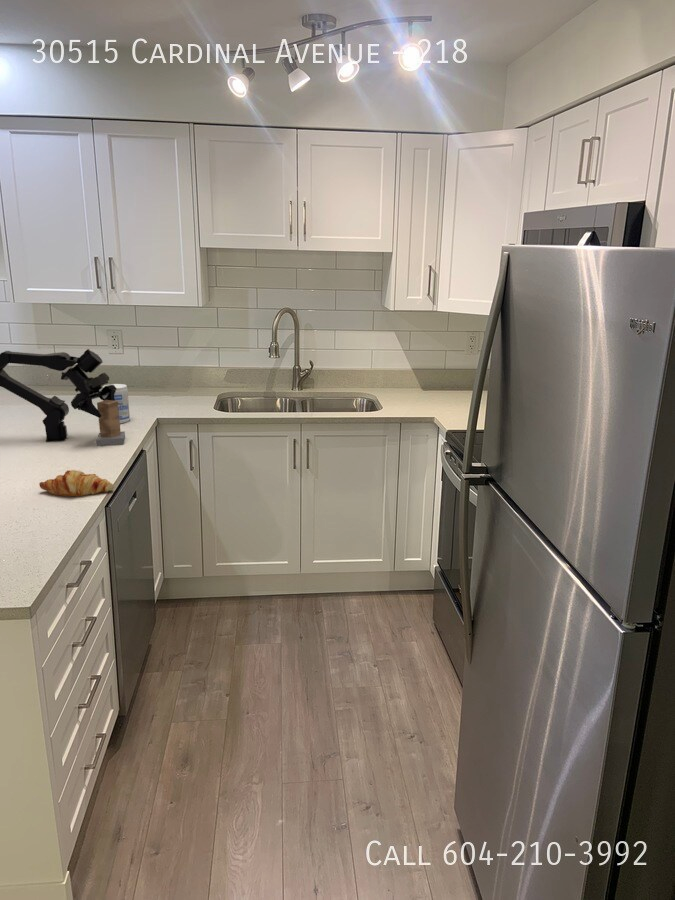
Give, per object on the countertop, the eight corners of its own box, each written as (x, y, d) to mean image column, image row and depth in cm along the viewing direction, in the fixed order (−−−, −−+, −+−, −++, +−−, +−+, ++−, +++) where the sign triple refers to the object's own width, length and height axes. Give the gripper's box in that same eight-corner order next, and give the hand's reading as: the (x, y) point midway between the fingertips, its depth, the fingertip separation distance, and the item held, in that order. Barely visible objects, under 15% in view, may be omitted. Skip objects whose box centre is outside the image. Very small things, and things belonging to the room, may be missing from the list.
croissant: (117, 499, 194) (119, 472, 196) (108, 495, 184) (110, 467, 186) (44, 499, 193) (46, 472, 194) (31, 495, 183) (33, 466, 184)
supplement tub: (117, 425, 260) (113, 389, 255) (100, 422, 264) (96, 386, 260) (135, 420, 268) (132, 385, 263) (118, 417, 272) (115, 382, 268)
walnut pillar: (100, 436, 236) (96, 402, 232) (109, 432, 240) (106, 399, 237) (111, 437, 234) (108, 404, 230) (120, 434, 239) (117, 401, 235)
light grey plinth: (97, 446, 233) (96, 439, 232) (99, 439, 241) (99, 432, 240) (123, 444, 235) (122, 438, 234) (125, 437, 243) (124, 431, 242)
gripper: (73, 371, 223) (103, 405, 223) (110, 362, 240) (137, 394, 239) (58, 391, 228) (87, 425, 228) (95, 382, 245) (121, 413, 244)
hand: (109, 414), depth 235 cm, fingers open, 9 cm apart
